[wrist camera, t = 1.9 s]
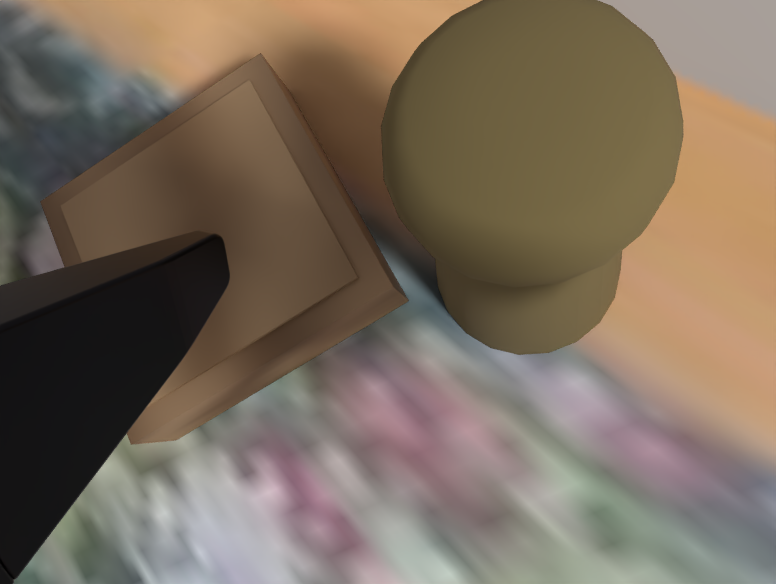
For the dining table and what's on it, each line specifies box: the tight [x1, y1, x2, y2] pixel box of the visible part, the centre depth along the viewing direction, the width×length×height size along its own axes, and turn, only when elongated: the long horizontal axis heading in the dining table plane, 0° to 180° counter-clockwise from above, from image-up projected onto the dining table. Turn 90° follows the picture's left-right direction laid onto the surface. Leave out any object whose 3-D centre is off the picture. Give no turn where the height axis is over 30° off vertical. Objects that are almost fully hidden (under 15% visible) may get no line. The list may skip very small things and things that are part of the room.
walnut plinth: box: [40, 53, 409, 444], centre depth 21 cm, size 10×10×3 cm
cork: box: [381, 0, 683, 355], centre depth 14 cm, size 6×6×11 cm
